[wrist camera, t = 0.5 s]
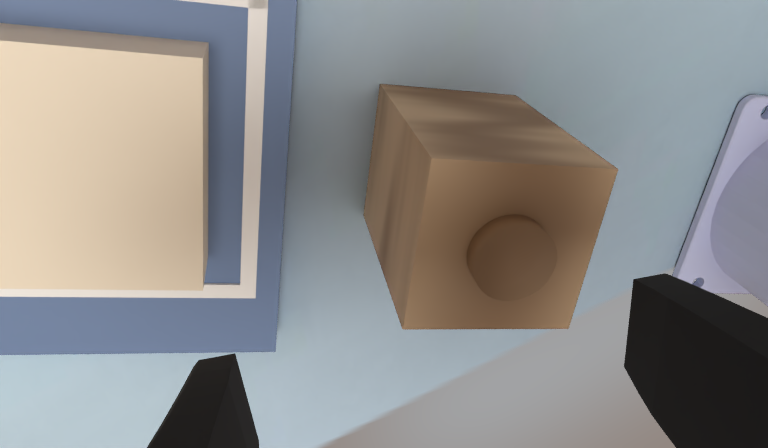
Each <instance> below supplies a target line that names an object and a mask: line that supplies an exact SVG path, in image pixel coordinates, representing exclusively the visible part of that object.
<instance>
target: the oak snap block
mask: <svg viewBox="0 0 768 448" xmlns="http://www.w3.org/2000/svg"><path fill="white" fill-rule="evenodd" d="M617 172H618V169H617V168H616V167H614V166H613V165H612V164H610V163H609V162H607V161H606V160H605V159H603V158H602V157H600V156H599V155H598V154H596V153H595V152H594V151H592V150H591V149H589V148H588V147H587V146H585V145H584V144H582V143H581V142H580V141H578V140H577V139H575V138H574V137H573V136H571V135H570V134H568V133H567V132H566V131H564V130H563V129H562V128H560V127H559V126H557V125H556V124H555V123H553V122H552V121H550V120H549V119H548V118H546V117H545V116H543V115H542V114H541V113H539V112H538V111H537V110H535V109H534V108H532V107H531V106H530V105H528V104H527V103H525V102H524V101H523V100H521V99H520V98H518V97H517V96H516V95H505V94H494V93H482V92H470V91H458V90H446V89H435V88H423V87H411V86H399V85H387V84H380V87H379V95H378V103H377V111H376V119H375V127H374V135H373V143H372V151H371V159H370V167H369V175H368V183H367V191H366V199H365V207H364V218H365V221H366V224H367V227H368V230H369V233H370V236H371V238H372V241H373V244H374V247H375V250H376V253H377V256H378V259H379V262H380V265H381V268H382V271H383V273H384V276H385V279H386V282H387V285H388V288H389V291H390V294H391V297H392V300H393V303H394V306H395V309H396V311H397V314H398V317H399V320H400V323H401V326H402V329H568V328H569V325H570V322H571V319H572V316H573V312H574V309H575V306H576V303H577V300H578V296H579V293H580V290H581V287H582V284H583V280H584V277H585V274H586V271H587V268H588V264H589V261H590V258H591V255H592V252H593V248H594V245H595V242H596V239H597V236H598V232H599V229H600V226H601V223H602V220H603V216H604V213H605V210H606V207H607V204H608V200H609V197H610V194H611V191H612V188H613V184H614V181H615V178H616V175H617Z"/></svg>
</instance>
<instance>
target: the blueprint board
mask: <svg viewBox="0 0 768 448" xmlns="http://www.w3.org/2000/svg"><path fill="white" fill-rule="evenodd" d="M296 10H297V0H0V355H39V354H124V353H208V352H275V351H276V334H277V318H278V302H279V286H280V270H281V253H282V237H283V221H284V205H285V189H286V172H287V156H288V140H289V124H290V108H291V91H292V75H293V59H294V43H295V27H296Z"/></svg>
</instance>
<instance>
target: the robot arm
mask: <svg viewBox="0 0 768 448" xmlns="http://www.w3.org/2000/svg"><path fill="white" fill-rule="evenodd" d="M764 107H766V110H765V112H764V113H763V114H762V115H761V111H762V110H763V108H764ZM695 279H697V280H696V281H695V282H694V283H693V281H694V280H695ZM713 293H725V294H726V293H727V294H732V293H733V294H753V295H754V296H755V297H756V298H758V299H759V300H760V301H762V302H763V303H764V304H765V305H767V306H768V96H765V95H748V96H746V97H745V98H743V99H742V100H741V101H740V102H739V104H738V106H737V108H736V110H735V113H734V115H733V118H732V121H731V123H730V126H729V128H728V131H727V134H726V136H725V139H724V141H723V144H722V147H721V149H720V152H719V154H718V157H717V160H716V162H715V165H714V168H713V170H712V173H711V175H710V178H709V181H708V183H707V186H706V188H705V191H704V194H703V196H702V199H701V201H700V204H699V207H698V209H697V212H696V214H695V217H694V220H693V222H692V225H691V228H690V230H689V233H688V235H687V238H686V241H685V243H684V246H683V248H682V251H681V254H680V256H679V259H678V261H677V264H676V267H675V269H674V272H673V274H672V276H671V275H668V274H660V275H654V276H649V277H644V278H638V279H634V281H633V290H632V299H631V309H630V318H629V327H628V336H627V345H626V355H625V363H624V367H625V369H626V371H627V373H628V375H629V376H630V378H631V380H632V382H633V384H634V385H635V387H636V389H637V391H638V393H639V394H640V396H641V398H642V399H643V401H644V403H645V404H646V406H647V408H648V409H649V411H650V413H651V415H652V416H653V417H654V419H655V420H656V421H657V423H658V424H659V425H660V427H661V428H662V430H663V431H664V432H665V433H666V435H667V436H668V437H669V439H670V440H671V441H672V443H673V444H674V445H675V447H676V448H768V318H766V317H764V316H762V315H760V314H757V313H755V312H753V311H751V310H748V309H746V308H744V307H742V306H740V305H737V304H735V303H733V302H731V301H729V300H726V299H724V298H722V297H719V296H717V295H715V294H713ZM147 448H259V440H258V436H257V433H256V429H255V425H254V422H253V418H252V414H251V411H250V407H249V403H248V399H247V396H246V392H245V388H244V385H243V381H242V377H241V374H240V370H239V366H238V363H237V359H236V355H235V354H230V355H224V356H219V357H214V358H208V359H203V360H199V361H198V362H197V363H196V365H195V366H194V367H193V369H192V371H191V373H190V374H189V376H188V378H187V380H186V382H185V384H184V385H183V387H182V389H181V391H180V393H179V395H178V396H177V398H176V400H175V402H174V403H173V405H172V407H171V409H170V410H169V412H168V414H167V416H166V417H165V419H164V421H163V422H162V424H161V426H160V427H159V429H158V431H157V432H156V434H155V435H154V437H153V439H152V440H151V442H150V444H149V445H148V447H147Z"/></svg>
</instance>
